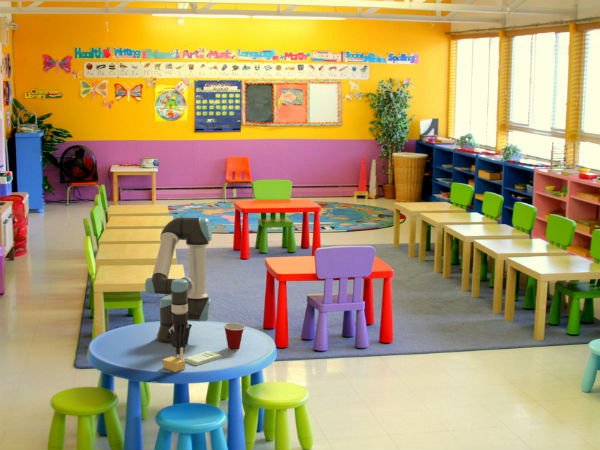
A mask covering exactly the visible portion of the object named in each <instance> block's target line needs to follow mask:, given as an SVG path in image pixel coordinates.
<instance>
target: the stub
mask: <svg viewBox="0 0 600 450" xmlns="http://www.w3.org/2000/svg"><path fill="white" fill-rule="evenodd" d="M162 368H164V369H166V370H169V371H172V372H174V373H177V372H180V371H183V370H185V369H186V362H185V360H184V359H183V360H182V359H179V358H177V356H173V355H171V356H168V357H166V358H163V359H162Z"/></svg>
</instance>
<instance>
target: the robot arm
mask: <svg viewBox="0 0 600 450" xmlns="http://www.w3.org/2000/svg"><path fill="white" fill-rule="evenodd" d="M212 238H213V230H212V223H211V221H210V220H209V218H208V217H207V218H205V217H183V216H179V217H176V218H174V219H172V220H170V221H168V223H166V224H165V226H164V227H163V229H162V230H161V232H160V236H159V240H160V245H159V247H158V252H157V256H156V261H155V263H154V267H153V271H152V276H151V277H147V278H146V279H145V284H144V289H145V292H146V293H147V294H150V295H165V296H163V297H162V298H160V300H159V328H158V331H157V335H156V340H157V342H159V343H163V344H171V346H172V347H174V348H175V354H176V358H179V359H182V360H184V354H185V348H186V347H187V345H188V343H189V337H190V332H191V328H192V326H193V325H192V324H191V323H188V321H189V322H207V321H208V320H209V319H210V315H211V312H212V305H213V301H212V299H211V298H209V294H208V293H207V292H206V289H207V288H206V284H207V283H206V282H207V281H206V279H207V277H206V275H207V274H206V273H207V272H206V270H207V269H206V268H207V267H206V266H207V265H206V262H207V261H206V260H207V259H206V258H207V257H206V254H207V252H206V249H207V246H209V244H210V241H211V242H212ZM180 241H185V245H186V246H187V247H188V277H181V278H169V274H170V270H171V266H172V262H173V257H174V253H175V251H176V250H175V249H176V245H178V244H179V242H180Z"/></svg>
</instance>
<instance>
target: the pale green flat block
mask: <svg viewBox="0 0 600 450" xmlns="http://www.w3.org/2000/svg"><path fill="white" fill-rule="evenodd" d="M221 358H222V354H220V353H217V352H214V351H211V350H206V351H203V352H201V353H196V354H194V355H191V356H187V357H183V360H185V363H188V364H191V365H194V366H199V365H203V364H206V363H209V362H212V361H216V360H218V359H221Z"/></svg>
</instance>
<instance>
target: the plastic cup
mask: <svg viewBox="0 0 600 450" xmlns="http://www.w3.org/2000/svg"><path fill="white" fill-rule="evenodd" d="M223 328H224V331H225V338H226V344H227V348H228V349H229V350H231V351H235V350H239V349H240V347H241V342H242V339H243V338H242V337H243V333H244V330H245V328H246V326H245V325H244V324H242V323H238V322H237V323H236V322H227V323H225V324H223Z"/></svg>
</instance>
